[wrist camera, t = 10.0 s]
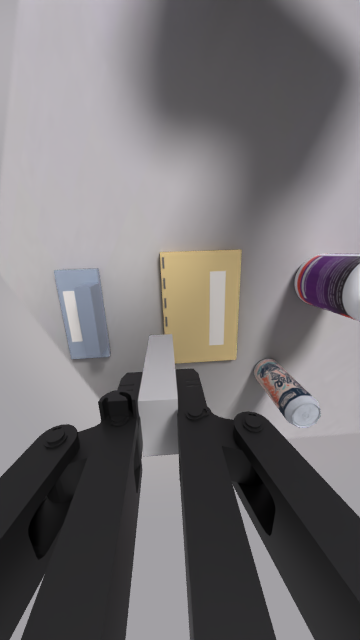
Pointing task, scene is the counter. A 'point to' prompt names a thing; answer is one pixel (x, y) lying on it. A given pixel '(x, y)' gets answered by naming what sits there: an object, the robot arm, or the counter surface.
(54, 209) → the counter surface
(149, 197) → the counter surface
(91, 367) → the counter surface
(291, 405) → the beer can
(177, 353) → the tan notebook
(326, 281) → the pill bottle
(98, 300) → the stub
